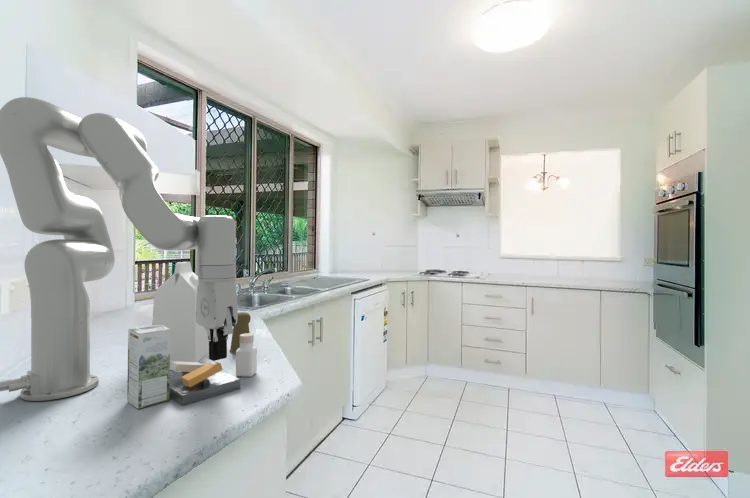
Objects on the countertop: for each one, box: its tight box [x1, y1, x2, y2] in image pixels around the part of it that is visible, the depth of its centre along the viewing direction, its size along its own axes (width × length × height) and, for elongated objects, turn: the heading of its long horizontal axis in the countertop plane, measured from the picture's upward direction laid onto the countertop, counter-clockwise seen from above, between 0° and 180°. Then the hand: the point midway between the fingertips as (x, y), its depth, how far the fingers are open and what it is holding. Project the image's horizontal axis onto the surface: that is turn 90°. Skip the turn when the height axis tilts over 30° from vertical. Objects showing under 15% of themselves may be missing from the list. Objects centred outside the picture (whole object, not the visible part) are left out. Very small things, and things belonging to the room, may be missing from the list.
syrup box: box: [126, 325, 171, 410], centre depth 73 cm, size 6×6×14 cm
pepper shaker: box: [229, 311, 251, 354], centre depth 110 cm, size 6×6×11 cm
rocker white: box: [170, 361, 207, 373], centre depth 82 cm, size 7×3×2 cm, turn 139°
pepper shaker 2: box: [235, 332, 258, 378], centre depth 89 cm, size 4×4×10 cm
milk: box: [151, 261, 211, 362], centre depth 103 cm, size 12×12×26 cm
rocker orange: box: [181, 360, 223, 387], centre depth 78 cm, size 7×3×2 cm, turn 139°
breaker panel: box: [169, 370, 242, 407], centre depth 81 cm, size 12×14×3 cm
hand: (218, 358), depth 81 cm, fingers closed
